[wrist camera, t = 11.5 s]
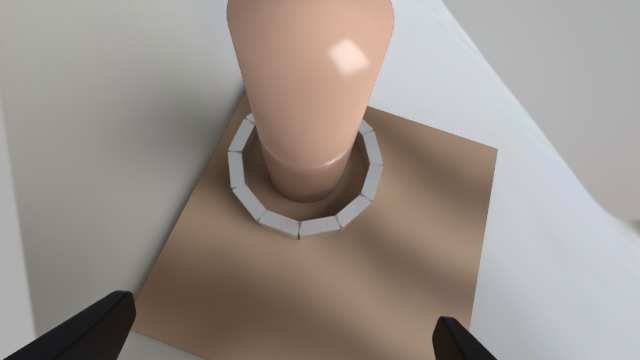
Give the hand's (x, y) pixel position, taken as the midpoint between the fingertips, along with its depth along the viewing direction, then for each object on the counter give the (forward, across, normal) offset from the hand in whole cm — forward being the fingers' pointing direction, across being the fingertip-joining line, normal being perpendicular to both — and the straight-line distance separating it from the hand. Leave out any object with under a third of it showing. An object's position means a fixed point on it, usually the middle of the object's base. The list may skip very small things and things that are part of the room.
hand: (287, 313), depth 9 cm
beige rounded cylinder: (+12, 0, 0) cm, 12 cm away
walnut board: (+10, -2, +4) cm, 11 cm away
